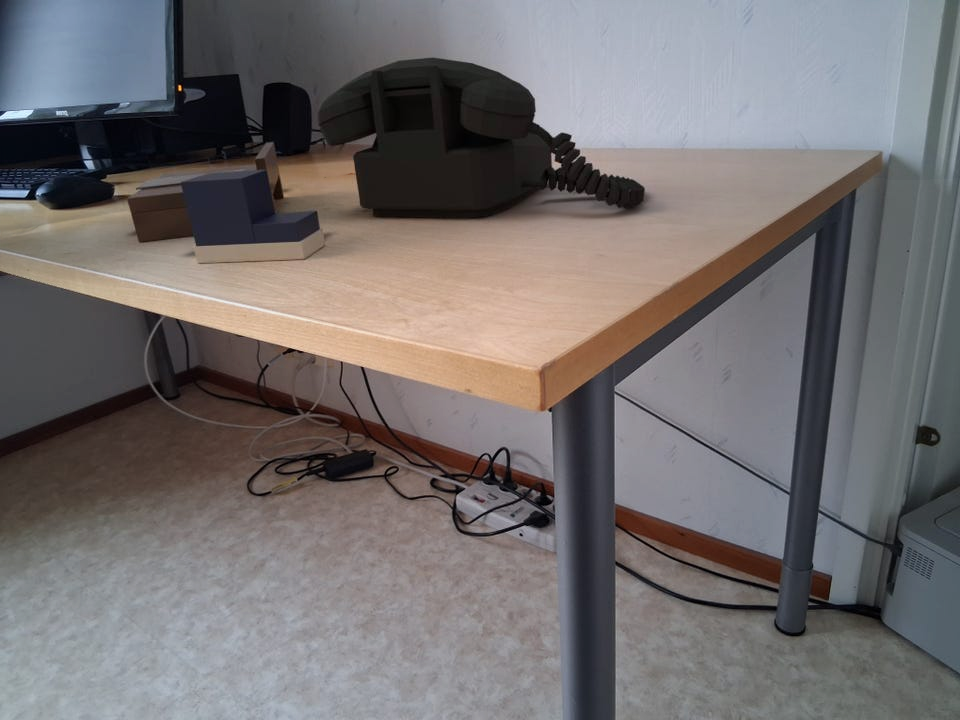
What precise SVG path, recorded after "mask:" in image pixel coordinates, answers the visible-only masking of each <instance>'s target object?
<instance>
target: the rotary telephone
mask: <svg viewBox="0 0 960 720" xmlns="http://www.w3.org/2000/svg"><path fill="white" fill-rule="evenodd" d="M536 112H537V110H536V98H535V97H534V95H533V94H532V93H531V91H530V90H529V89H528V88H527V87H526V86H524V85H523V84H521V83H520V82H519V81H516V80H513V79H512V78H510V77H508V76H507V75H504V74H503V73H502V72H500V71H496V70H494V69H491V68H489V67H485V66H482V65H479V64H476V63H474V62H467V61H460V60H453V59H448V58H447V59H446V58H441V57H434V56H433V57H421V58H414V59H402V60H397V61H394V62H391V63H388V64H386V65H385V64H384V65H383V66H382V65H381V66H380V67H377V68H374V69H371V70H368V71H365V72H364V73H362V74H360V75H358V76H357V77H355V78H354V79H351V80H350V81H348V82H346V83H345V84H344V85H342V86H341V87H339V89H337V90H336V91H335V92H333V93H332V94H330V95H329V96H328V97H326V98H325V100H324V101H323V102H322V103H321V105H320V108H319V110H318V112H317V123H318V127H319V131H320V132H321V134H322V136H323V138H324V140H325V142H326V144H327V145H328V146H330V147H336V146H341V145H345V144H349V143H353V142H355V141H358V140H361V139H365V138H367V137H369V136H372V135H375V138H374V140H373V144H372V145H371V147H368V148H365V149H362V150H359V151H356V152H355V153H354V154H353V156H352V158H353V159H352V160H353V165H354V171H355V178H356V186H357V191H358V192H357V193H358V198H359V205H360V207H361V208H362V209H366V210H372V216H374V217H379V218H381V217H384V218H385V217H387V218H390V217H391V218H451V219H452V218H453V219H454V218H456V219H459V218H461V219H474V218H475V219H476V218H484V217H488V216H491V215H495V214H497V213H500V212H503V211H505V210H508V209H510V208H511V207H513V206H514V205H515V204H518V203H519V202H520V201H522V200H523V199H525V198H527V197H528V196H530V195H531V194H533V193H534V192H536V191H538V189H541V190H544V189H546V188H548V189H549V190H550V191H553V190H555V189H557V190H558V192H563V191H567V192H568V193H569V194H570V193H571V194H572V193H573V192H574V191H575V192H576V193H577V194H578V195H580V194H582V193H585V194H586V195H587V196H595V199H596V200H597V202H602V201H603V202H604V201H605V202H606V204H607V205H608V207H610V206H611V207H612V206H614V205H616V207H617V208H618V209H620V208H622V207H623V208H624V209H631V208H633V207H635V206H637V205H640V204H642V203H643V202H644V199H645V191H646V188H645V187H644V186H643V185H642V184H641V183H639V182H638V181H636V180H635V179H633V178H629V177H627V178H626V177H625V176H619V175H618V174H617V175H616V176H614V175H613V174H609V176H608V174H607V173H603V174H601V171H600V169H599V168H598V169H597V168H596V169H594V167H593V162H587V157H586V156H582V155H581V149H579V148H576V141H572V137H573V135H572V134H569V133H567V132H560V133H558V134H557V135H555V136H553V135H552V134H551V133H549V131H547V130H546V129H545V128H543V127H542V126H541V125H540V124H538V123H536V122H534V119H535V116H536V114H535V113H536ZM552 154H553V155H554V162H556V163H558V164H560V167H557V168H556V169H555V168H554V167H553V159H552V158H553V157H552V156H553V155H552Z"/></svg>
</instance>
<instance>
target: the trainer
mask: <svg viewBox="0 0 960 720" xmlns="http://www.w3.org/2000/svg"><path fill="white" fill-rule="evenodd" d="M181 186H182V190H183V195H184V199H185V203H186V207H187V211H188V215H189V219H190V223H191V227H192V231H193V235H194V236H193V240H194V244H195V245H194V246H193V251H194V254H195V258H196V263H197V264H214V263H215V264H216V263H218V264H219V263H240V262H266V261H269V262H270V261H290V260H291V261H292V260H294V261H295V260H305V259H307V258H309V257H310V256H311V255H312V254H314V253H316V252H317V251H318V250H320V249H321V248H322V247H324V246H325V245H326V241H325V233H324V229H323V228H320V222H319V221H320V220H319V215H318V211H317V210H307V211H305V210H304V211H288V212H287V211H286V212H276V213H275V209H276V208H275V209H274V204H273V198H272V193H271V188H270V183H269V178H268V173H267V170H251V171H236V172H220V173H209V174H205V175H202V176H199V177H195V178H192V179H189V180H186V181H182V182H181Z"/></svg>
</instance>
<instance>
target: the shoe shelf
mask: <svg viewBox="0 0 960 720" xmlns="http://www.w3.org/2000/svg"><path fill="white" fill-rule="evenodd" d="M251 170H267V173H268V178H269V183H270V188H271V193H272V198H273V204H274V209H275V213H277V208H276V205H275V201H276V200H284V197H285V195H284V189H283V185H282V178H281V174H280V168H279V163H278V157H277V152H276V147H275V142H274V141H270V142H269V141H268V142H265V143H264V145H263V147H262V148H261V149H260V150H259V152H258V154H257V155H256V156H255V158H254V164H246V165H237V166H227V167H218V168H208V169H200V170H190V171H189V170H188V171H179V172H172V173H171V172H170V173H164V174H162V175H161V176H159V177H157V178H150V179H148V180H146V181H145V182H143V183H141V184H139V185H138V186H137V187H136V186H135V190H138V191H136V192H135V193H133V194H132V195H130V196H129V197H127V198H126V200H127V204H128V207H129V211H130V215H131V219H132V223H133V226H134V230H135V233H136V237H137V241H138V243H145V242H153V241H161V240H168V239H169V240H171V239H178V238H185V237H194V235H193V231H192V227H191V223H190V219H189V215H188V211H187V207H186V203H185V199H184V195H183V190H182V186H181V182H182V181H186V180H189V179H192V178H195V177H199V176H202V175H205V174H209V173H220V172H236V171H251Z"/></svg>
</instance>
